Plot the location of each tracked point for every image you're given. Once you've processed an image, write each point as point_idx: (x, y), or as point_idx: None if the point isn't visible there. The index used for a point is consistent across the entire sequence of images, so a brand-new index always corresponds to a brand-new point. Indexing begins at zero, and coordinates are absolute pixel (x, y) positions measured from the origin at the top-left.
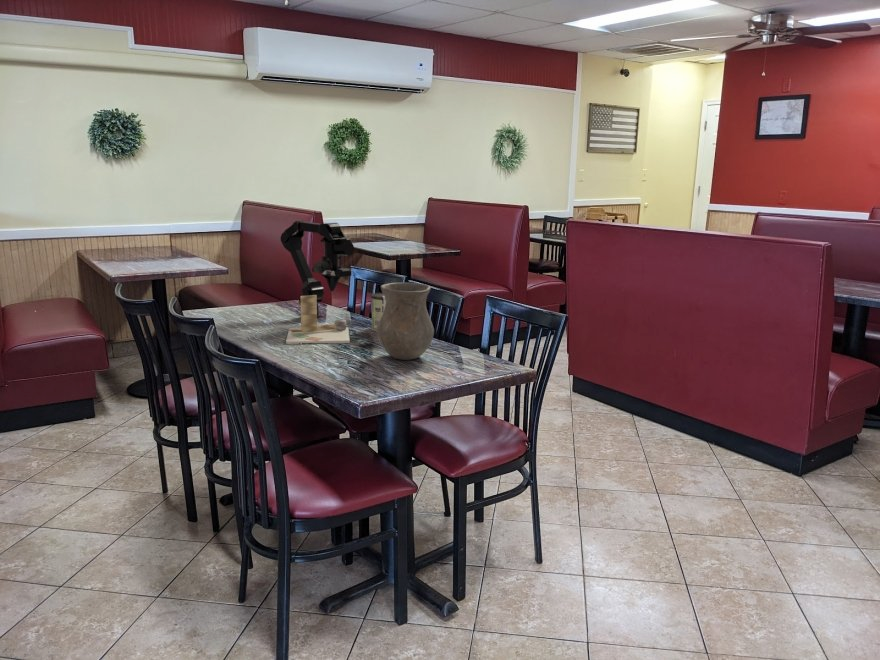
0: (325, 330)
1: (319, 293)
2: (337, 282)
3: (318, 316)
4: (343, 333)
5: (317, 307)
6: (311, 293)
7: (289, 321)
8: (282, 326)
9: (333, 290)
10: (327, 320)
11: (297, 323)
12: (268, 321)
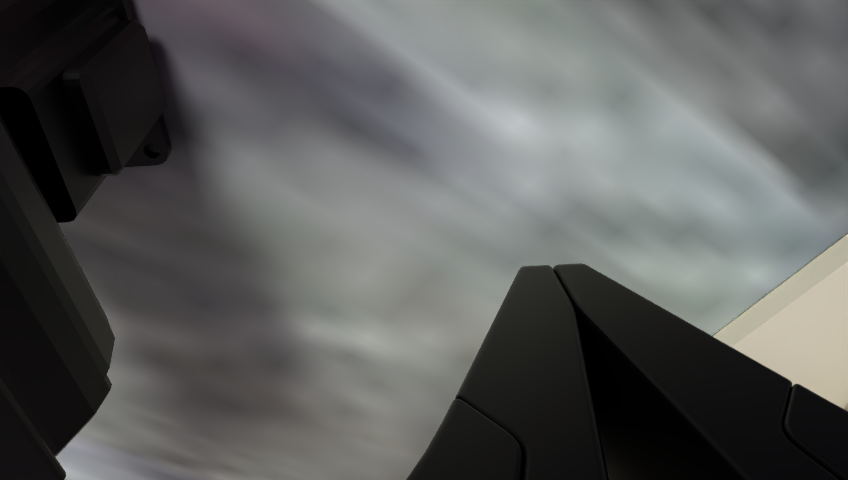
0: (841, 384)
1: (3, 230)
2: (841, 410)
3: (125, 12)
4: None
5: (93, 98)
6: (74, 429)
7: (166, 349)
8: (335, 466)
9: (592, 279)
10: (364, 9)
11: (300, 341)
12: (75, 457)
